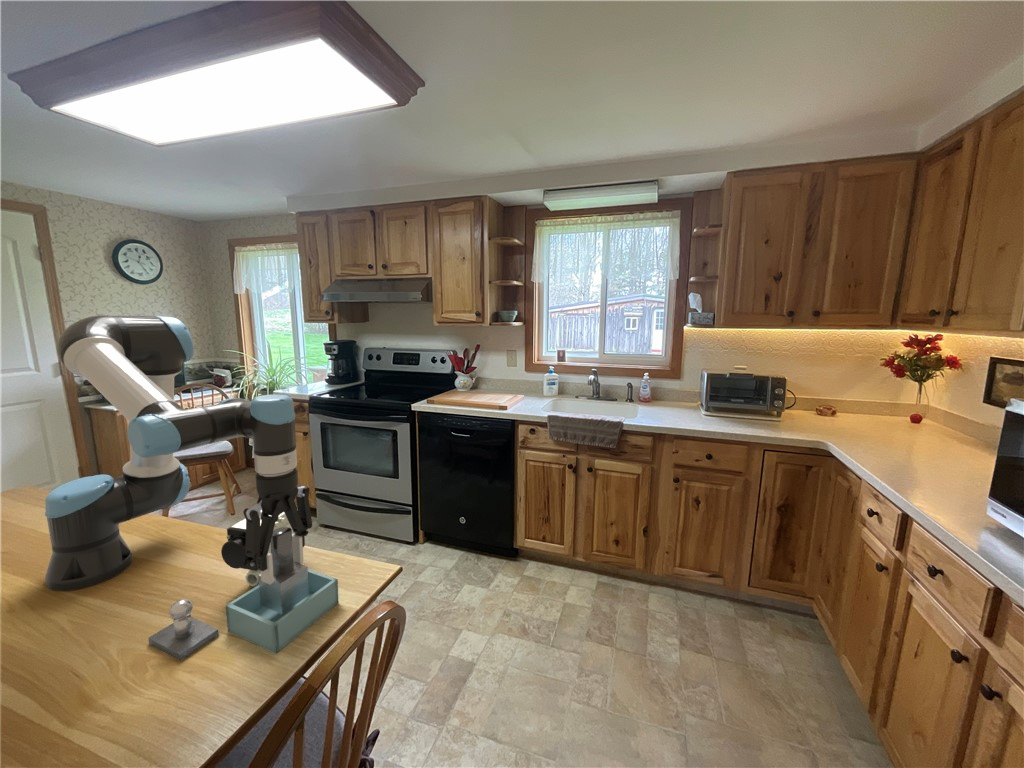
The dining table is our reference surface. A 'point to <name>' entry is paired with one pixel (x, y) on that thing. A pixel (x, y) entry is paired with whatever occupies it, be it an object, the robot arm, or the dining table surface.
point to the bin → (281, 628)
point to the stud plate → (184, 643)
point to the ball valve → (236, 548)
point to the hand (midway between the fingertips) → (283, 571)
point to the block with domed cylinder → (284, 575)
